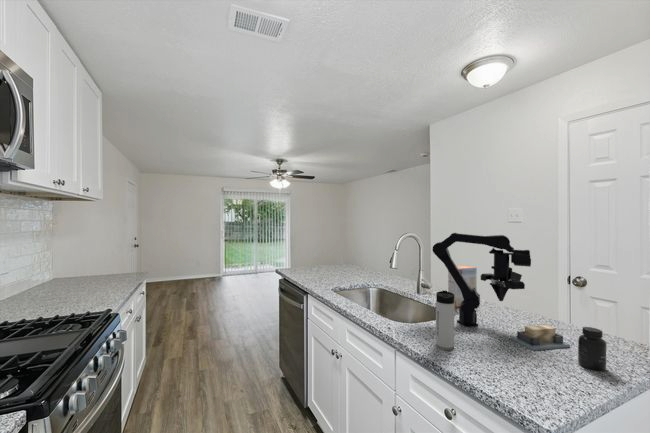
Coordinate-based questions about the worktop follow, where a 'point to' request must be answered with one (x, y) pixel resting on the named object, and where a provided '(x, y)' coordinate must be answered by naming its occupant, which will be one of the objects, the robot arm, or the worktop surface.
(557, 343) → the board
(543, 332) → the slat
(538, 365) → the worktop surface
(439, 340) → the travel mug
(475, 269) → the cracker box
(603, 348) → the supplement bottle
